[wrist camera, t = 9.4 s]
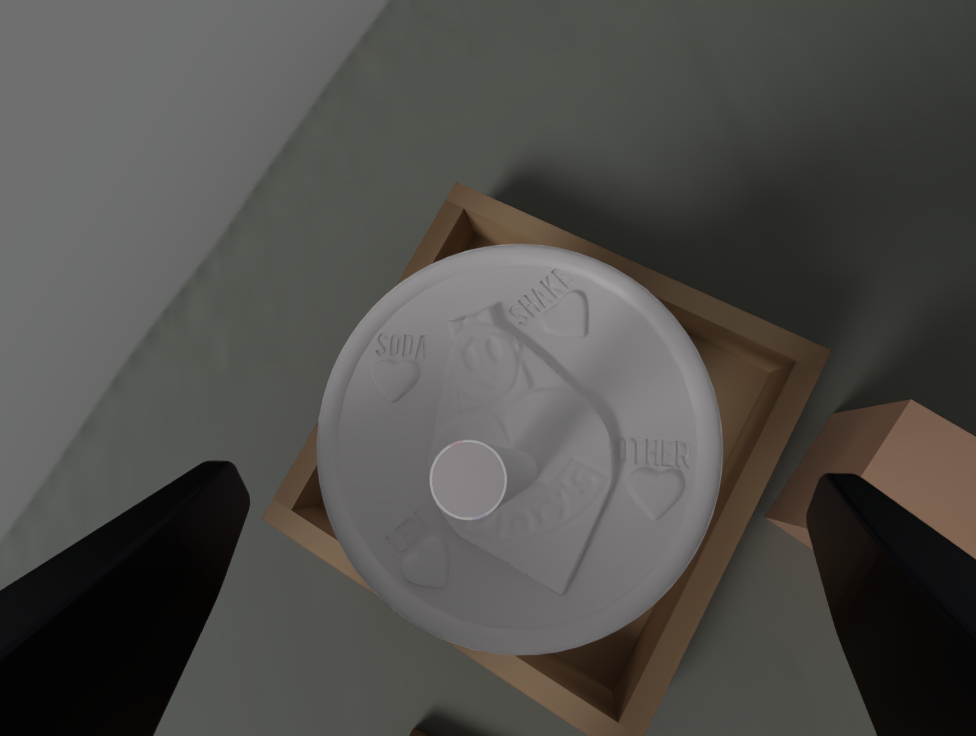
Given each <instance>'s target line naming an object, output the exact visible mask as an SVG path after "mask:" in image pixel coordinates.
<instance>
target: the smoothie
mask: <svg viewBox="0 0 976 736" xmlns="http://www.w3.org/2000/svg"><path fill="white" fill-rule="evenodd" d="M722 462H723V438H722V426H721V419H720V413H719V407H718V403H717V399H716V396H715V392H714V388H713V385H712V382H711V380H710V377H709V374H708V372H707V369H706V367H705V365H704V363H703V361H702V359H701V357H700V354H699V352H698V350H697V349H696V347H695V345H694V344H693V342H692V341H691V339H690V337H689V336H688V334H687V332H686V331H685V330H684V329H683V327H682V326H681V325H680V323H679V322H678V321H677V319H676V318H675V317H674V316H673V314H672V313H671V312H670V311H669V310H668V309H667V308H666V307H665V306H664V305H663V304H662V303H661V302H660V301H659V300H658V299H657V298H656V297H655V296H654V295H652V294H651V293H650V292H649V291H648V290H647V289H646V288H644V287H643V286H642V285H640V284H639V283H637V282H636V281H635V280H633V279H632V278H630V277H629V276H627V275H626V274H624V273H622V272H620V271H619V270H617V269H615V268H614V267H612V266H610V265H607V264H605V263H603V262H601V261H599V260H597V259H594V258H591V257H589V256H586V255H583V254H580V253H577V252H573V251H569V250H565V249H561V248H557V247H550V246H544V245H532V244H504V245H495V246H487V247H482V248H477V249H473V250H468V251H465V252H461V253H458V254H455V255H452V256H449V257H447V258H444V259H442V260H440V261H437V262H435V263H433V264H431V265H429V266H427V267H425V268H423V269H421V270H419V271H418V272H416V273H414V274H413V275H411V276H410V277H408V278H407V279H405V280H404V281H402V282H401V283H399V284H398V285H397V286H396V287H394V288H393V289H392V290H391V291H389V292H388V293H387V294H386V295H385V296H384V297H383V298H382V299H381V300H380V301H379V302H377V303H376V304H375V305H374V306H373V307H372V309H371V310H370V311H369V312H368V313H367V314H366V315H365V317H364V318H363V319H362V320H361V321H360V323H359V324H358V326H357V327H356V328H355V330H354V331H353V332H352V334H351V335H350V337H349V339H348V340H347V342H346V344H345V345H344V347H343V349H342V350H341V352H340V354H339V356H338V359H337V361H336V363H335V365H334V367H333V369H332V372H331V375H330V377H329V380H328V383H327V386H326V389H325V393H324V396H323V400H322V404H321V410H320V415H319V421H318V432H317V467H318V476H319V483H320V488H321V493H322V498H323V502H324V505H325V509H326V512H327V515H328V518H329V521H330V523H331V526H332V528H333V531H334V533H335V536H336V538H337V540H338V542H339V544H340V545H341V547H342V549H343V551H344V553H345V555H346V556H347V558H348V559H349V561H350V563H351V564H352V566H353V567H354V569H355V570H356V572H357V573H358V574H359V575H360V577H361V578H362V579H363V580H364V582H365V583H366V584H367V585H368V587H369V588H370V589H371V590H372V591H373V592H374V593H375V594H376V595H377V596H378V597H379V598H380V599H381V600H382V601H383V602H384V603H386V604H387V605H388V606H389V607H390V608H391V609H393V610H394V611H395V612H396V613H397V614H399V615H400V616H402V617H403V618H405V619H406V620H407V621H409V622H410V623H412V624H413V625H415V626H417V627H418V628H420V629H422V630H424V631H426V632H428V633H429V634H431V635H433V636H435V637H438V638H440V639H443V640H445V641H447V642H450V643H452V644H455V645H459V646H462V647H465V648H469V649H472V650H477V651H482V652H487V653H493V654H503V655H540V654H547V653H554V652H560V651H564V650H568V649H572V648H576V647H580V646H583V645H585V644H588V643H591V642H594V641H596V640H599V639H601V638H603V637H605V636H607V635H609V634H611V633H613V632H615V631H617V630H619V629H621V628H623V627H624V626H626V625H627V624H629V623H630V622H632V621H634V620H635V619H637V618H638V617H639V616H641V615H642V614H643V613H644V612H646V611H647V610H648V609H649V608H651V607H652V606H653V605H654V604H655V603H656V602H657V601H658V600H659V599H660V598H661V597H662V596H663V595H664V594H665V593H666V592H667V591H668V590H669V589H670V588H671V587H672V586H673V585H674V583H675V582H676V581H677V580H678V578H679V577H680V576H681V575H682V574H683V572H684V571H685V569H686V568H687V566H688V565H689V563H690V562H691V560H692V559H693V557H694V555H695V554H696V552H697V550H698V548H699V546H700V544H701V542H702V540H703V538H704V536H705V534H706V531H707V529H708V526H709V524H710V521H711V518H712V516H713V513H714V509H715V505H716V501H717V498H718V494H719V488H720V481H721V475H722Z"/></svg>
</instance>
